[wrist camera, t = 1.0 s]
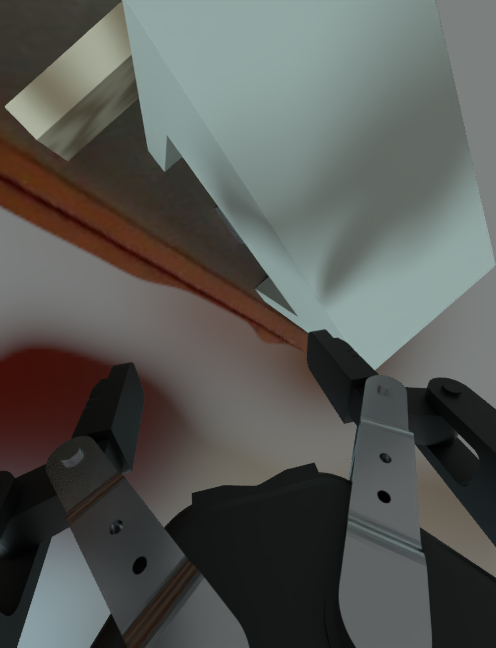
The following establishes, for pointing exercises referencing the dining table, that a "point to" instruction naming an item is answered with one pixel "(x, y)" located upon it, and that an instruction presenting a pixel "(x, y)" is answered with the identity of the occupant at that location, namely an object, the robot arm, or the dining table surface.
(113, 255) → the dining table surface
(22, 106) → the beech blade
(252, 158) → the desk
